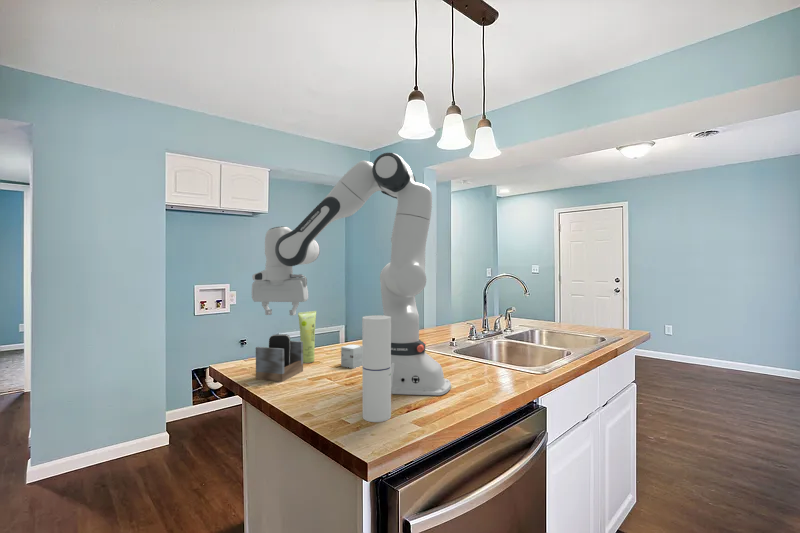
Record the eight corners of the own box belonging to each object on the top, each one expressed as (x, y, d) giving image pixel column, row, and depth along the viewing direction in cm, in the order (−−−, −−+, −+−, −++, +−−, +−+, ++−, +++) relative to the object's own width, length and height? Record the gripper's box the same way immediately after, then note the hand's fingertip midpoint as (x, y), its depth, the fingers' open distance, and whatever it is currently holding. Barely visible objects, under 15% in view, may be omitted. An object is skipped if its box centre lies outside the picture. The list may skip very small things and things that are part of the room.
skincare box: (340, 366, 147) (340, 346, 147) (351, 362, 153) (351, 343, 152) (353, 368, 144) (353, 348, 144) (363, 365, 149) (363, 345, 149)
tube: (310, 364, 151) (310, 312, 151) (298, 363, 152) (297, 312, 152) (316, 360, 156) (316, 310, 156) (304, 359, 157) (304, 310, 157)
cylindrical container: (356, 418, 99) (356, 317, 99) (374, 409, 105) (373, 314, 105) (379, 424, 95) (379, 320, 95) (396, 414, 101) (396, 316, 101)
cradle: (303, 371, 141) (302, 341, 141) (282, 381, 129) (282, 349, 129) (278, 368, 144) (278, 340, 144) (255, 379, 132) (255, 347, 131)
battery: (291, 365, 139) (291, 333, 139) (289, 368, 135) (289, 335, 135) (270, 366, 138) (270, 333, 138) (268, 369, 134) (268, 335, 134)
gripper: (311, 273, 136) (312, 314, 136) (259, 274, 142) (260, 313, 142) (301, 274, 130) (303, 316, 130) (248, 275, 136) (249, 315, 136)
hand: (280, 315), depth 136 cm, fingers open, 8 cm apart
